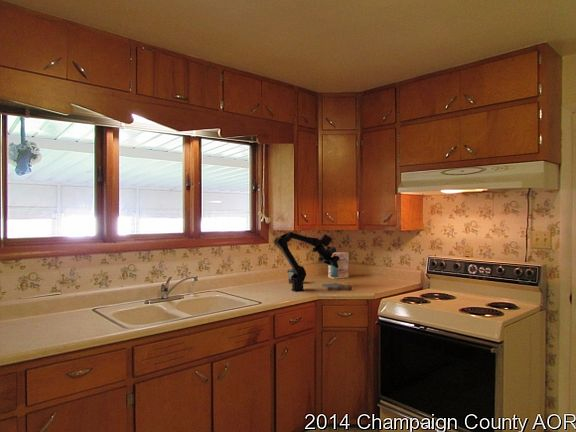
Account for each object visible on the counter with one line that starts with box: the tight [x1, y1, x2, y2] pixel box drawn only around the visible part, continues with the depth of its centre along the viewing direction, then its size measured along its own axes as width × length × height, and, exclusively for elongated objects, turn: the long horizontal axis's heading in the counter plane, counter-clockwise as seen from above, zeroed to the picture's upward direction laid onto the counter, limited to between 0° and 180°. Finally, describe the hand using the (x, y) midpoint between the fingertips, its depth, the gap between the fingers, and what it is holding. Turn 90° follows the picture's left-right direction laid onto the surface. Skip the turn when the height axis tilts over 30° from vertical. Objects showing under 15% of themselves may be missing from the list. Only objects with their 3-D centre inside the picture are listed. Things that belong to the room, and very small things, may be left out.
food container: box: [286, 268, 293, 285], centre depth 287 cm, size 12×6×10 cm, turn 84°
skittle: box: [331, 262, 338, 277], centre depth 274 cm, size 5×5×10 cm
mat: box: [321, 282, 347, 288], centre depth 274 cm, size 12×12×1 cm
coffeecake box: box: [327, 251, 350, 280], centre depth 311 cm, size 15×7×20 cm, turn 119°
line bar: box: [326, 286, 353, 292], centre depth 261 cm, size 16×2×2 cm, turn 96°
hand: (335, 266), depth 274 cm, fingers closed on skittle, 5 cm apart
